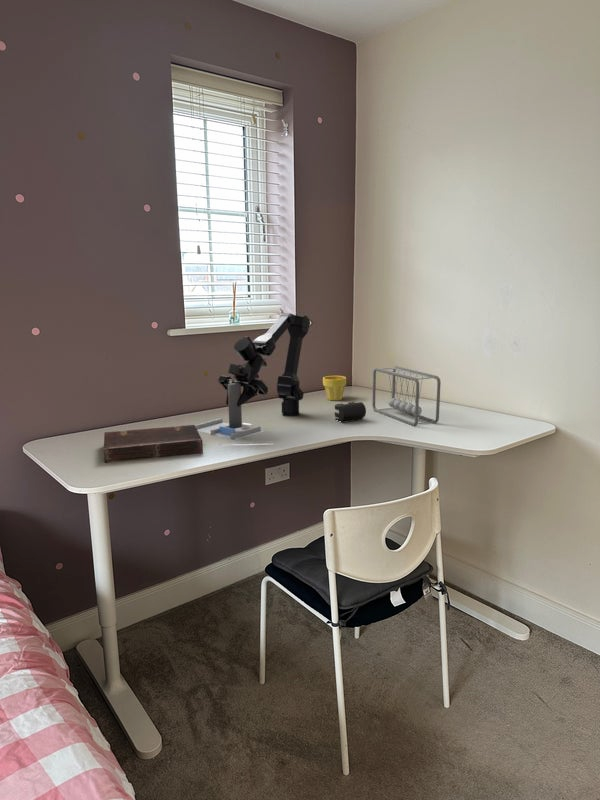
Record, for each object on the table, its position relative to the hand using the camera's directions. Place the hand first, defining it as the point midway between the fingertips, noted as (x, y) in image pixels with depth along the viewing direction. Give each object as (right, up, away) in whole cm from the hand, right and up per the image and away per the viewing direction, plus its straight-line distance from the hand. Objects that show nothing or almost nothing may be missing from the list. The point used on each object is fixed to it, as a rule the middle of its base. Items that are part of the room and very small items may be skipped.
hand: (232, 405), depth 196 cm
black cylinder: (+42, -6, +21) cm, 47 cm away
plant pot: (+39, +2, +59) cm, 70 cm away
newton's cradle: (+63, -5, +25) cm, 69 cm away
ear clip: (+4, -9, +8) cm, 13 cm away
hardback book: (-24, -15, -14) cm, 31 cm away
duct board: (-3, -9, +6) cm, 12 cm away
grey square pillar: (+1, -8, +3) cm, 8 cm away
